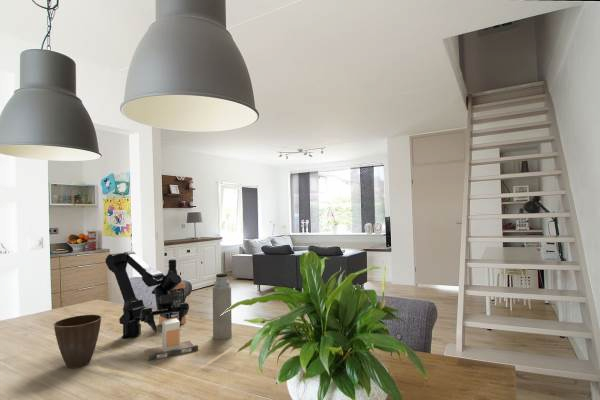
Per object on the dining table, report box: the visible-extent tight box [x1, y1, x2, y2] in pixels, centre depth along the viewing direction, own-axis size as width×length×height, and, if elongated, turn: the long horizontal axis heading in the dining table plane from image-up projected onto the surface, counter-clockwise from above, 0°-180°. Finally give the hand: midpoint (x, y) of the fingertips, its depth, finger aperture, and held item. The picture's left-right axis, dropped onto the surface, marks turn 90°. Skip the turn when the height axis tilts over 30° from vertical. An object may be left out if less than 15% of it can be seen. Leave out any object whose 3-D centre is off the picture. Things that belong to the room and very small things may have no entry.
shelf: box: [143, 340, 199, 362], centre depth 140 cm, size 18×13×3 cm
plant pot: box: [53, 314, 102, 369], centre depth 131 cm, size 15×15×16 cm
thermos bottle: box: [212, 273, 233, 340], centre depth 156 cm, size 8×8×28 cm
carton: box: [161, 318, 181, 352], centre depth 140 cm, size 6×6×12 cm
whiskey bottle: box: [158, 258, 187, 326], centre depth 180 cm, size 10×10×32 cm
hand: (168, 330), depth 144 cm, fingers open, 9 cm apart
